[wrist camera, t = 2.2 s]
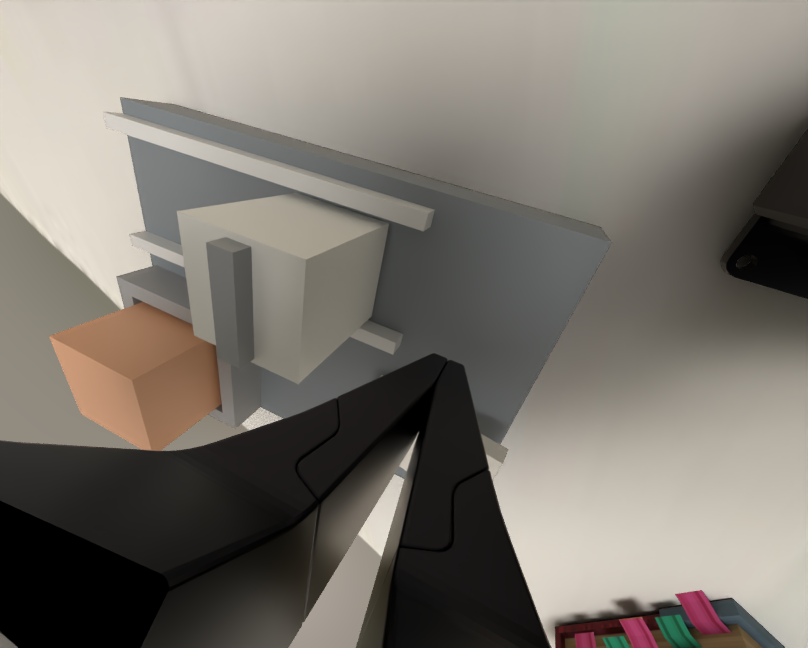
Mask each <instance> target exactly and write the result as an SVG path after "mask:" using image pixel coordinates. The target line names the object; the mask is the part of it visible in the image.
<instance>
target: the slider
mask: <svg viewBox="0 0 808 648" xmlns="http://www.w3.org/2000/svg"><path fill="white" fill-rule="evenodd" d="M177 217H178V224H179V231H180V238H181V245H182V252H183V260H184V267H185V274H186V281H187V288H188V295H189V303H190V310H191V317H192V324H193V331H194V336H197V337H199V338H201V339H203V340H205V341H207V342H209V343H211V344H214V345H216V349H217V359H219V360H221V361H223V362H225V363H227V364H230V365H232V366H234V367H236V368H238V369H240V368H242V367H243V366H245V365H246V364H247V363H249V362H252V363H254V364H256V365H258V366H260V367H263V368H265V369H267V370H269V371H271V372H273V373H275V374H278V375H280V376H282V377H284V378H286V379H288V380H290V381H292V382H295V383H297V384H299V383H300V382H301V381H302V380H303V379H304V378H305V377H307V376H308V375H309V374H310V373H311V372H312V371H313V370H314V369H315V368H316V367H317V366H318V365H320V364H321V363H322V362H323V361H324V360H325V359H326V358H327V357H328V356H329V355H330V354H331V353H333V352H334V351H335V350H336V349H337V348H338V347H339V346H340V345H341V344H342V343H343V342H345V341H346V340H347V339H348V338H349V337H350V336H351V335H352V334H353V333H354V332H355V331H356V330H358V329H359V328H360V327H361V326H362V325H363V324H364V323H365V322H366V321H367V320H368V319H369V318H371V317H372V312H373V306H374V301H375V296H376V291H377V285H378V280H379V275H380V269H381V264H382V259H383V254H384V248H385V243H386V238H387V232H388V227H389V223H387V222H384V221H381V220H378V219H374V218H371V217H368V216H365V215H362V214H359V213H356V212H353V211H350V210H347V209H344V208H341V207H338V206H335V205H332V204H329V203H326V202H323V201H320V200H316V199H313V198H310V197H307V196H304V195H301V194H298V193H292V194H285V195H279V196H272V197H266V198H259V199H253V200H246V201H240V202H233V203H227V204H220V205H214V206H207V207H201V208H194V209H188V210H181V211H177Z"/></svg>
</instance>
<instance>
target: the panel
mask: <svg viewBox="0 0 808 648" xmlns="http://www.w3.org/2000/svg"><path fill="white" fill-rule="evenodd" d="M120 100H121V105H122V110H123V114H122V113H111V112H103V115H104V120H105V125H106V128H107V129H110V130H113V131H117V132H120V133H123V134H126V135H127V136H128V141H129V146H130V151H131V157H132V162H133V167H134V172H135V177H136V183H137V188H138V193H139V198H140V203H141V208H142V214H143V219H144V224H145V229H146V231H143V232H138V233H132V234H130V238H131V243H132V246H134V247H136V248H139V249H141V250H144V251H146V252H148V253H150V255H151V260H152V265H153V266H152V267H148V268H145V269H141V270H138V271H134V272H131V273H127V274H124V275H120V276H117V281H118V285H119V289H120V293H121V297H122V301H123V304H124V308H127V307H130V306H133V305H136V304H138V303H141V302H145V303H147V304H149V305H151V306H154V307H156V308H158V309H160V310H162V311H164V312H167V313H169V314H171V315H173V316H175V317H177V318H180V319H182V320H184V321H186V322H188V323H190V324H192V317H191V310H190V303H189V295H188V288H187V281H186V274H185V267H184V260H183V252H182V245H181V238H180V231H179V224H178V217H177V211H181V210H188V209H194V208H201V207H207V206H214V205H220V204H227V203H233V202H240V201H246V200H253V199H259V198H266V197H272V196H279V195H285V194H292V193H298V194H301V195H304V196H307V197H310V198H313V199H316V200H320V201H323V202H326V203H329V204H332V205H335V206H338V207H341V208H344V209H347V210H350V211H353V212H356V213H359V214H362V215H365V216H368V217H371V218H374V219H378V220H381V221H384V222H387V223H389V227H388V232H387V238H386V243H385V248H384V254H383V259H382V264H381V269H380V275H379V280H378V285H377V291H376V296H375V301H374V306H373V312H372V317H371V318H369V319H368V320H367V321H366V322H365V323H364V324H363V325H362V326H361V327H360V328H359V329H358V330H356V331H355V332H354V333H353V334H352V335H351V336H350V337H349V338H348V339H347V340H346V341H345V342H343V343H342V344H341V345H340V346H339V347H338V348H337V349H336V350H335V351H334V352H333V353H331V354H330V355H329V356H328V357H327V358H326V359H325V360H324V361H323V362H322V363H321V364H320V365H318V366H317V367H316V368H315V369H314V370H313V371H312V372H311V373H310V374H309V375H308V376H307V377H305V378H304V379H303V380H302V381H301V382H300V383H299V384H297V383H295V382H292V381H290V380H288V379H286V378H284V377H282V376H280V375H278V374H275V373H273V372H271V371H269V370H267V369H265V368H263V367H260V366H258V365H256V364H254V363H252V362H249V363H247V364H246V365H245V366H243V367H242V368H240V369H238V368H236V367H234V366H232V365H230V364H227V363H225V362H223V361H221V360H219V359H217V361H218V371H219V381H220V391H221V401H222V404H221V405H219V406H218V407H217V408H216V409H214V410H213V411H212V412H210V413H209V414H208V415H210V416H212V417H214V418H216V419H218V420H219V421H221V422H223V423H225V424H227V425H229V426H231V427H233V428H235V429H236V428H237V427H238V426H239V425H240V424H242V423H243V422H244V421H245V420H246V419H247V418H248V417H249V416H251V415H252V414H253V413H254V412H255V411H256V410H257V409H259V408H260V407H262V408H264V409H266V410H268V411H270V412H272V413H274V414H276V415H278V416H280V417H282V418H284V419H285V418H287V417H290V416H293V415H296V414H298V413H301V412H303V411H306V410H308V409H310V408H313V407H315V406H318V405H320V404H322V403H324V402H327V401H329V400H331V399H333V398H337V397H338V396H340V395H342V394H344V393H347V392H349V391H351V390H353V389H355V388H357V387H360V386H362V385H364V384H366V383H368V382H371V381H373V380H375V379H377V378H379V377H380V376H381V375H383V376H384V375H386V374H388V373H390V372H392V371H394V370H397V369H399V368H401V367H403V366H405V365H408V364H410V363H412V362H414V361H416V360H418V359H421V358H423V357H425V356H427V355H429V354H432V353H436V354H438V355H441V356H443V357H446V358H447V359H448V361H449V360H453V361H455V362H458V363H460V364H463V365H464V367H465V370H466V374H467V379H468V383H469V387H470V391H471V395H472V399H473V403H474V407H475V411H476V415H477V420H478V424H479V428H480V432H481V434H483V435H484V436H486V437H488V438H489V439H491V440H493V441H494V442H496V443H498V444H501V442H502V440H503V438H504V436H505V435H506V433H507V431H508V429H509V427H510V426H511V424H512V422H513V420H514V418H515V417H516V415H517V413H518V411H519V409H520V407H521V406H522V404H523V402H524V400H525V398H526V397H527V395H528V393H529V391H530V389H531V388H532V386H533V384H534V382H535V380H536V379H537V377H538V375H539V373H540V371H541V370H542V368H543V366H544V364H545V362H546V360H547V359H548V357H549V355H550V353H551V351H552V350H553V348H554V346H555V344H556V342H557V341H558V339H559V337H560V335H561V333H562V332H563V330H564V328H565V326H566V324H567V323H568V321H569V319H570V317H571V315H572V313H573V312H574V310H575V308H576V306H577V304H578V303H579V301H580V299H581V297H582V295H583V294H584V292H585V290H586V288H587V286H588V285H589V283H590V281H591V279H592V277H593V276H594V274H595V272H596V270H597V268H598V266H599V265H600V263H601V261H602V259H603V257H604V256H605V254H606V252H607V250H608V248H609V247H610V245H611V243H612V242H611V241H610V239H609V238H608V237H607V235H606V234H605V232H604V231H603V230H602V228H601V227H598V226H595V225H591V224H588V223H584V222H581V221H577V220H574V219H571V218H567V217H564V216H560V215H557V214H553V213H550V212H546V211H543V210H539V209H536V208H532V207H529V206H525V205H522V204H518V203H515V202H512V201H508V200H505V199H501V198H498V197H494V196H491V195H487V194H484V193H480V192H477V191H473V190H470V189H466V188H463V187H459V186H456V185H452V184H449V183H446V182H442V181H439V180H435V179H432V178H428V177H425V176H421V175H418V174H414V173H411V172H407V171H404V170H400V169H397V168H393V167H390V166H387V165H383V164H380V163H376V162H373V161H369V160H366V159H362V158H359V157H355V156H352V155H348V154H345V153H341V152H338V151H334V150H331V149H328V148H324V147H321V146H317V145H314V144H310V143H307V142H303V141H300V140H296V139H293V138H289V137H286V136H282V135H279V134H275V133H272V132H268V131H265V130H262V129H258V128H255V127H251V126H248V125H244V124H241V123H237V122H234V121H230V120H227V119H223V118H220V117H216V116H213V115H209V114H206V113H203V112H199V111H196V110H192V109H189V108H185V107H182V106H178V105H174V104H167V103H159V102H152V101H144V100H137V99H130V98H122V97H120ZM216 351H217V349H216ZM406 472H407V471H405V470H404V469H403V468H401V467H400V466H399V467H398V469H397V470H396V472H395V474H396V475H398V476H400V477H402V478H404V479H405V476H406Z"/></svg>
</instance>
